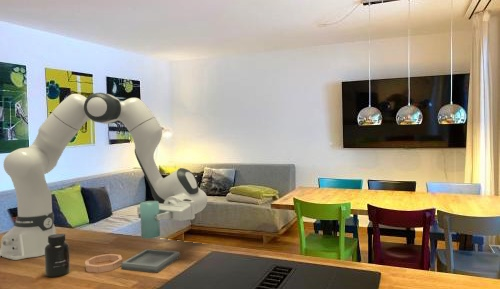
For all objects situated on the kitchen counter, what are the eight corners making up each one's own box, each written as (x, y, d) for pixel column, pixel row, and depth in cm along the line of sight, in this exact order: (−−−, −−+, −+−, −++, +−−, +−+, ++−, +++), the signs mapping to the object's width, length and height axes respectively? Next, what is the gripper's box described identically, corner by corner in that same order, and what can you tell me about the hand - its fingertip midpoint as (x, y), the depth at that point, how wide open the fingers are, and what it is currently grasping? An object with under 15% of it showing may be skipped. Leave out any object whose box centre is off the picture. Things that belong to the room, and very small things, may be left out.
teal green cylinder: (137, 237, 121) (136, 204, 120) (148, 232, 126) (146, 200, 126) (153, 238, 119) (152, 204, 118) (163, 233, 125) (162, 201, 124)
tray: (121, 269, 118) (121, 262, 118) (146, 254, 132) (146, 249, 132) (157, 273, 114) (156, 266, 114) (179, 257, 128) (179, 251, 128)
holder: (78, 270, 118) (77, 264, 118) (101, 258, 129) (101, 253, 129) (106, 273, 115) (106, 267, 115) (128, 261, 125) (128, 255, 125)
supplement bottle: (59, 278, 112) (58, 239, 112) (40, 277, 114) (38, 238, 113) (74, 269, 119) (73, 232, 118) (56, 268, 120) (54, 232, 120)
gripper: (153, 197, 139) (124, 204, 126) (197, 201, 129) (171, 209, 117) (153, 214, 139) (125, 223, 127) (198, 219, 129) (172, 229, 117)
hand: (148, 216), depth 122 cm, fingers closed on teal green cylinder, 6 cm apart
